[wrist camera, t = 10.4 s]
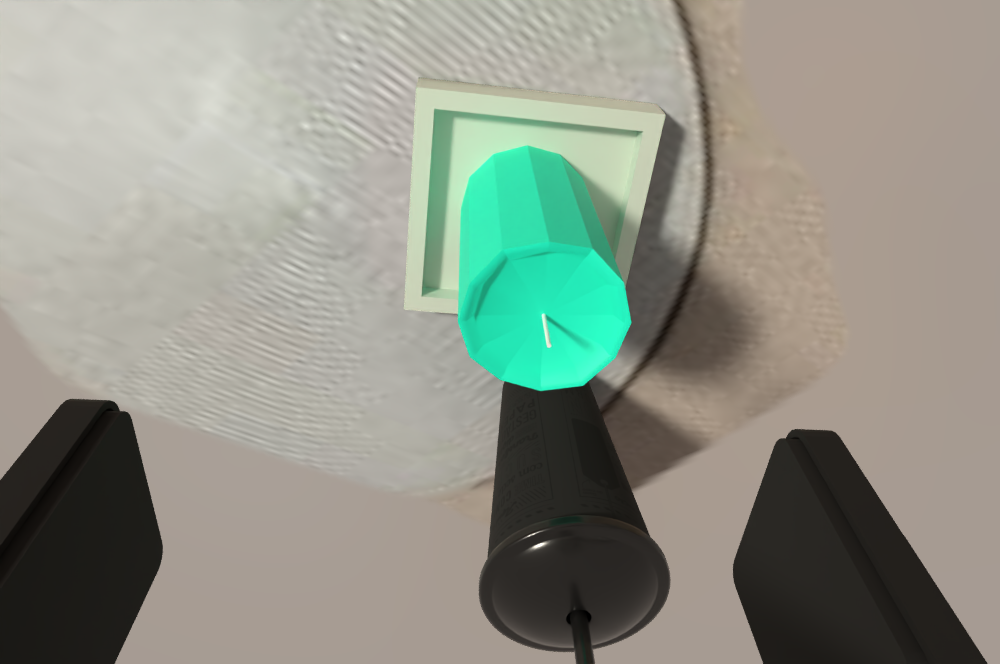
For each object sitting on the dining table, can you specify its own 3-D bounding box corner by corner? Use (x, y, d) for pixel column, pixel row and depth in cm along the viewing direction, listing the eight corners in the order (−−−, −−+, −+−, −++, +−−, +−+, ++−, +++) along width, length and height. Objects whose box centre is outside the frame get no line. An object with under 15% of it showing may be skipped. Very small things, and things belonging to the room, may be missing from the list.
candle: (609, 230, 35) (668, 372, 24) (500, 286, 36) (512, 443, 26) (553, 120, 32) (592, 229, 22) (436, 185, 33) (421, 317, 23)
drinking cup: (456, 355, 39) (446, 717, 22) (594, 315, 38) (695, 661, 21) (501, 457, 43) (521, 832, 26) (626, 423, 42) (734, 789, 25)
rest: (656, 104, 32) (665, 114, 31) (610, 309, 38) (616, 327, 36) (418, 77, 31) (416, 86, 30) (406, 292, 37) (404, 309, 35)
